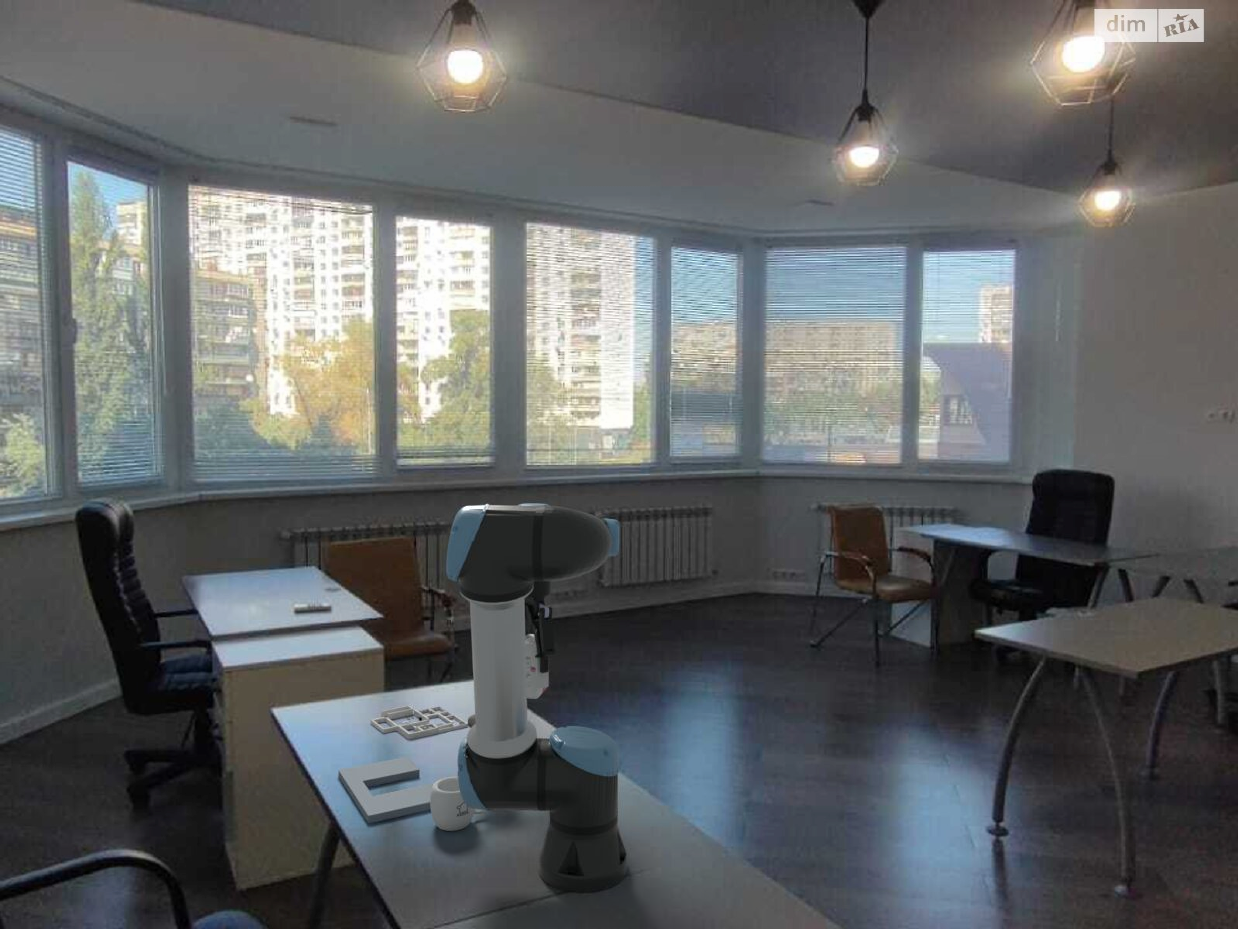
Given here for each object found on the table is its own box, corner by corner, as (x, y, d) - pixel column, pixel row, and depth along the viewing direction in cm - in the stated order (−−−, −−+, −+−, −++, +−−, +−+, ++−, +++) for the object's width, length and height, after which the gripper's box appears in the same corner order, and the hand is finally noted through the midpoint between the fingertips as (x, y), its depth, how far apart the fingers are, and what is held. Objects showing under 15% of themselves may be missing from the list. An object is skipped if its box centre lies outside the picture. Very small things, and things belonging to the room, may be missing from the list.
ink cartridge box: (526, 686, 188) (527, 619, 188) (548, 688, 187) (549, 621, 187) (514, 698, 180) (515, 628, 179) (537, 699, 179) (538, 629, 178)
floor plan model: (342, 726, 213) (342, 718, 213) (435, 707, 228) (435, 700, 228) (370, 750, 198) (370, 742, 198) (468, 728, 213) (468, 720, 213)
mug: (439, 840, 156) (439, 797, 156) (423, 820, 164) (423, 780, 163) (500, 824, 163) (500, 783, 162) (482, 806, 170) (483, 767, 169)
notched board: (445, 806, 170) (445, 798, 170) (368, 823, 162) (368, 815, 162) (408, 763, 190) (408, 756, 190) (338, 776, 183) (338, 770, 182)
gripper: (573, 582, 175) (571, 692, 176) (526, 568, 194) (525, 667, 194) (540, 585, 171) (538, 697, 172) (495, 570, 190) (494, 671, 191)
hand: (531, 681), depth 183 cm, fingers closed on ink cartridge box, 9 cm apart
